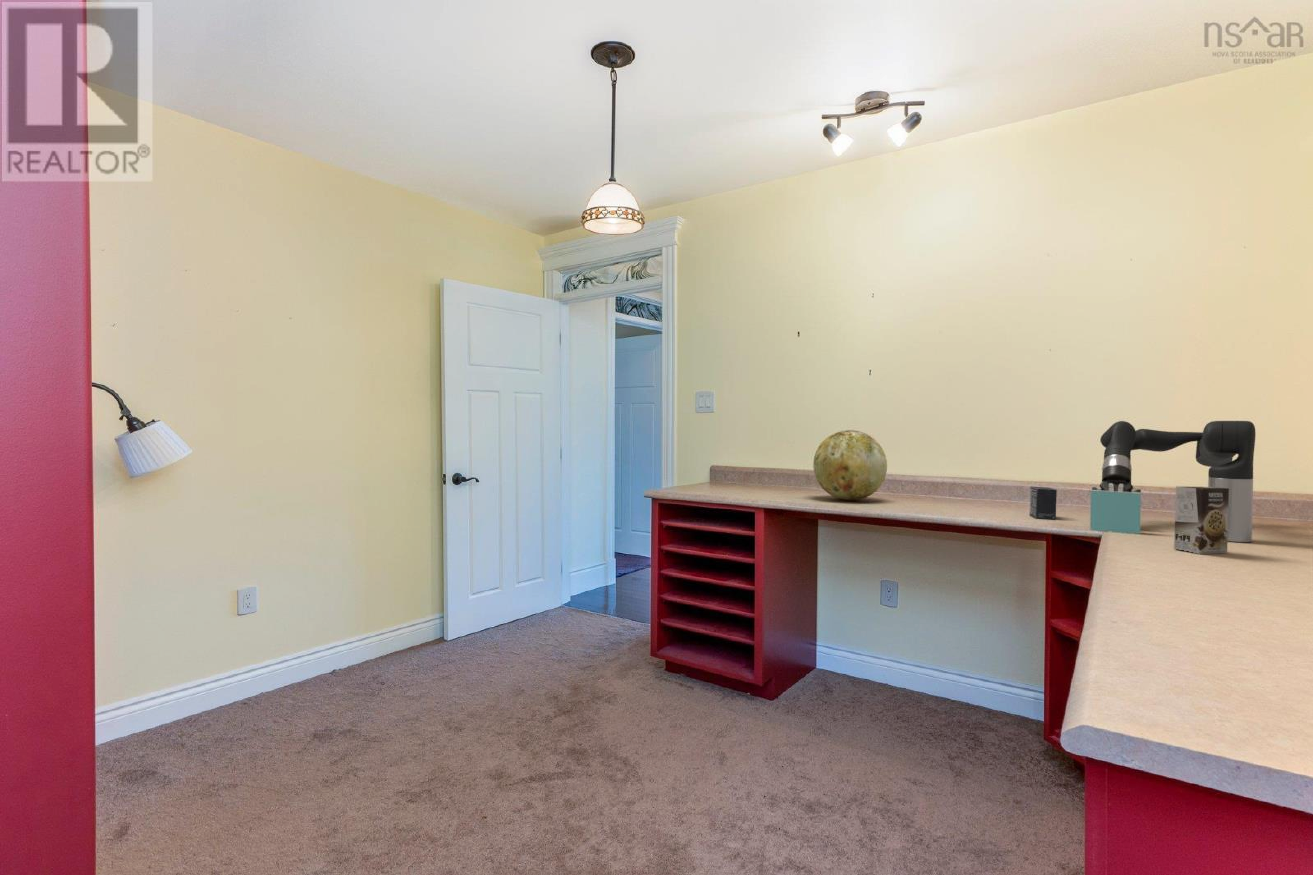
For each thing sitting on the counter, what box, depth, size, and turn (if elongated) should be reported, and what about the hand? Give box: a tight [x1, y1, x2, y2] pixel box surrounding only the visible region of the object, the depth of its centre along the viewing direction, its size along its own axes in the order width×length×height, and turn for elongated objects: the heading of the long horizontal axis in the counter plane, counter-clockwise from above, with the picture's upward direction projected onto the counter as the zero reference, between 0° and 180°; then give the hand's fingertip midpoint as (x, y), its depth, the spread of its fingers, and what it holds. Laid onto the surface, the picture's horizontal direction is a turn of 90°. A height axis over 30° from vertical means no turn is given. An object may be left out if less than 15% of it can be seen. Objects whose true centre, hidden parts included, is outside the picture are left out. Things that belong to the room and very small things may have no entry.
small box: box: [1028, 486, 1058, 520], centre depth 218 cm, size 11×6×10 cm, turn 160°
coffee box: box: [1173, 486, 1229, 555], centre depth 155 cm, size 9×6×16 cm
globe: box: [812, 429, 888, 502], centre depth 266 cm, size 30×30×30 cm
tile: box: [1089, 489, 1142, 535], centre depth 187 cm, size 4×12×12 cm, turn 53°
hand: (1115, 513), depth 190 cm, fingers closed
